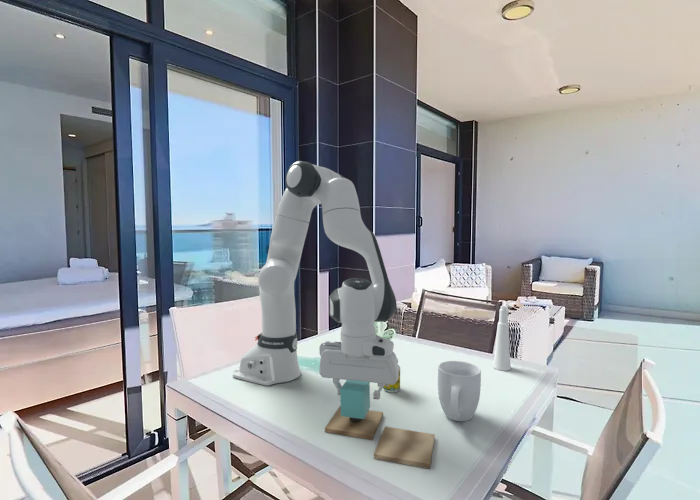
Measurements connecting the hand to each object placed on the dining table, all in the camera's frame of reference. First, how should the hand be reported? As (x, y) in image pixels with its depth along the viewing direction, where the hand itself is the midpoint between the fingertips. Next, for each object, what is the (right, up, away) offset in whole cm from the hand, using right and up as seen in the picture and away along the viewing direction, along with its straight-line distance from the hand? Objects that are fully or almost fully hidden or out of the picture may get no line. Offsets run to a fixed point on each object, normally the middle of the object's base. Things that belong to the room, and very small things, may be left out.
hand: (358, 396), depth 101 cm
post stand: (-1, -7, 0) cm, 7 cm away
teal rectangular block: (-1, -4, 0) cm, 4 cm away
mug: (+26, -7, +3) cm, 27 cm away
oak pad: (+10, -8, -11) cm, 17 cm away
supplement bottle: (+10, -6, +21) cm, 24 cm away
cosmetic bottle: (+51, -4, +39) cm, 64 cm away
